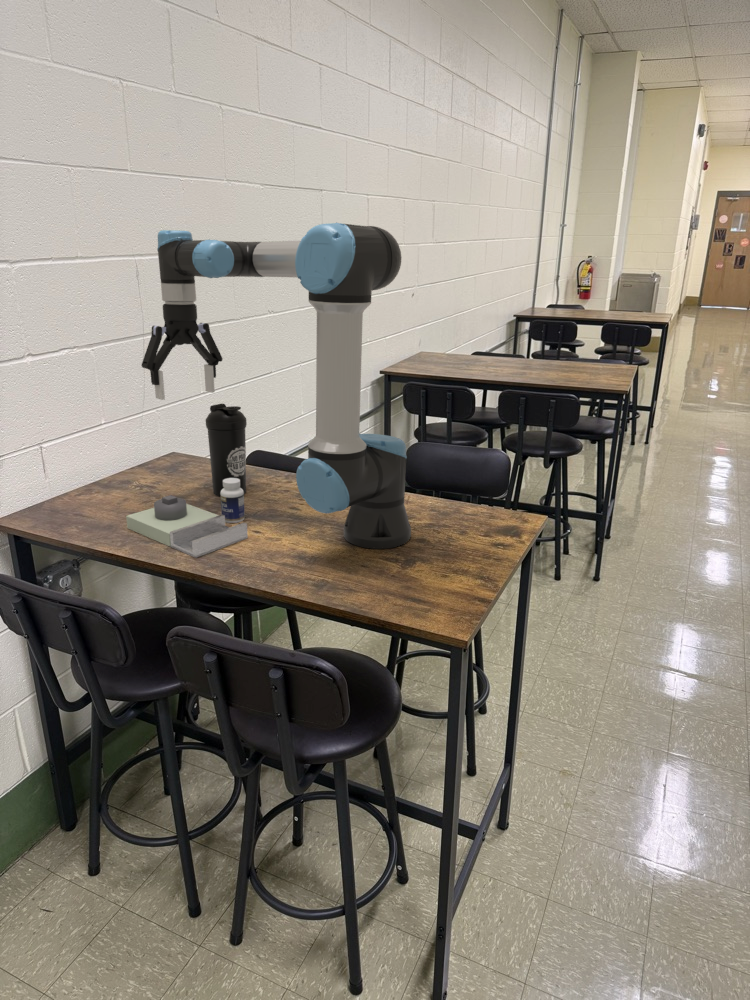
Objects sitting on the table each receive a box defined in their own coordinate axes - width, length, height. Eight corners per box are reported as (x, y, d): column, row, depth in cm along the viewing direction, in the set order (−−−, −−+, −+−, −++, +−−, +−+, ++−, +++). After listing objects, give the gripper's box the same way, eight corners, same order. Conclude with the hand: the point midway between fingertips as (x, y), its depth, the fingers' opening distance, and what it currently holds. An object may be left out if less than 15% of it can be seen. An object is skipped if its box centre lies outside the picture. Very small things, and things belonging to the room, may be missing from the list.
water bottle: (228, 501, 174) (223, 412, 167) (201, 492, 180) (196, 406, 173) (257, 491, 182) (254, 405, 174) (231, 483, 188) (227, 400, 180)
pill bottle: (217, 521, 161) (215, 482, 158) (228, 514, 166) (226, 475, 163) (238, 524, 159) (236, 484, 156) (248, 517, 164) (247, 478, 161)
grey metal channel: (247, 538, 152) (247, 523, 151) (196, 557, 142) (195, 542, 140) (222, 528, 157) (221, 514, 156) (170, 547, 147) (169, 531, 145)
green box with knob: (221, 528, 157) (220, 498, 155) (170, 546, 147) (167, 515, 144) (178, 512, 166) (176, 483, 164) (127, 528, 156) (124, 498, 154)
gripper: (215, 300, 168) (220, 386, 175) (119, 303, 151) (129, 399, 158) (234, 302, 163) (238, 391, 170) (137, 305, 146) (146, 404, 153)
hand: (185, 395), depth 164 cm, fingers open, 13 cm apart
